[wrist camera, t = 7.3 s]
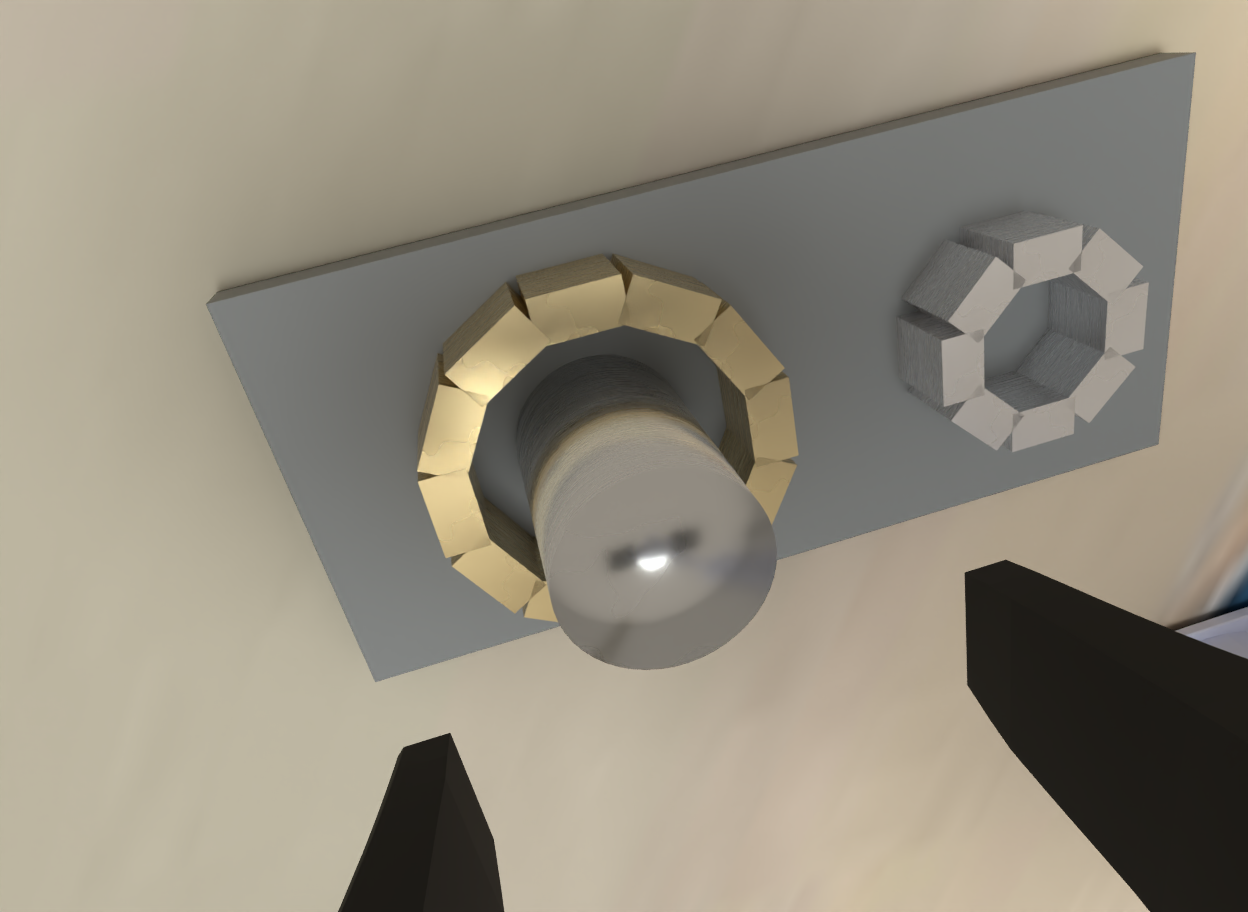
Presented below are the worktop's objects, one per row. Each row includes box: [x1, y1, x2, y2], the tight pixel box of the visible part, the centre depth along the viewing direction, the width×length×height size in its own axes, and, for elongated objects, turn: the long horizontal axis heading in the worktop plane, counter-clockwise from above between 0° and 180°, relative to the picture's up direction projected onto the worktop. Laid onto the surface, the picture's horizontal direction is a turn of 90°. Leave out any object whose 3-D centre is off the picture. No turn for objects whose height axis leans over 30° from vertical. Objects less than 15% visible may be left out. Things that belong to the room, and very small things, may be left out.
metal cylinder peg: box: [515, 355, 777, 670], centre depth 17 cm, size 4×4×6 cm
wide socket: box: [417, 254, 799, 622], centre depth 19 cm, size 8×8×2 cm
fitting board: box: [206, 53, 1196, 682], centre depth 20 cm, size 22×10×1 cm, turn 102°
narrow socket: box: [896, 211, 1149, 452], centre depth 20 cm, size 5×5×2 cm
